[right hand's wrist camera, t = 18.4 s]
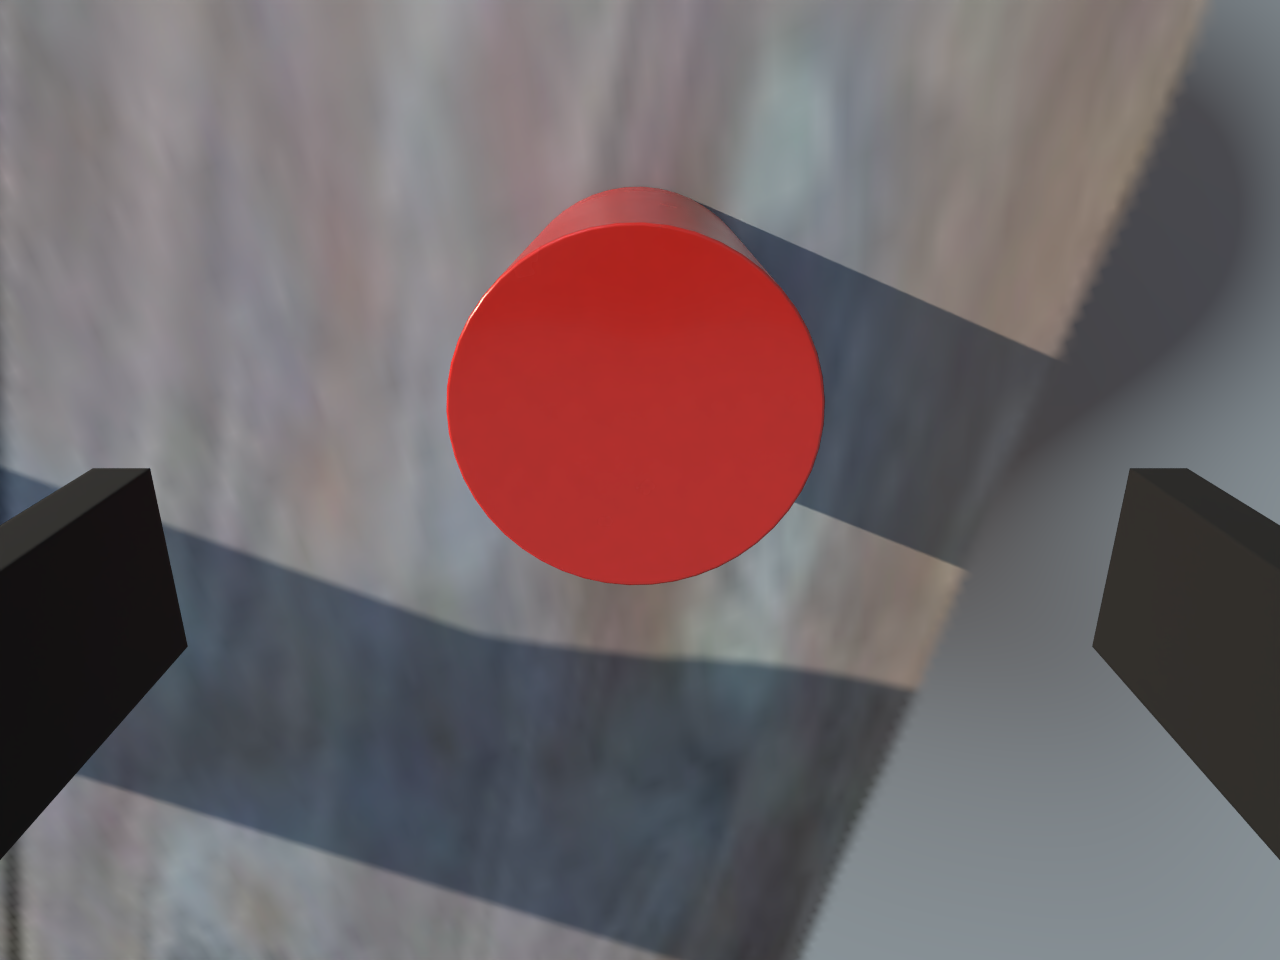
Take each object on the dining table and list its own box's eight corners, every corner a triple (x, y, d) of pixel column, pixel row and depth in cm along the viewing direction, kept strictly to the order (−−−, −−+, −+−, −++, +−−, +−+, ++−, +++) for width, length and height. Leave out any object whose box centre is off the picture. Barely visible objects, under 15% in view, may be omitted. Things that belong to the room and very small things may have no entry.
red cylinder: (485, 219, 26) (394, 273, 17) (735, 159, 26) (792, 179, 16) (550, 453, 29) (505, 616, 19) (779, 404, 28) (849, 547, 19)
